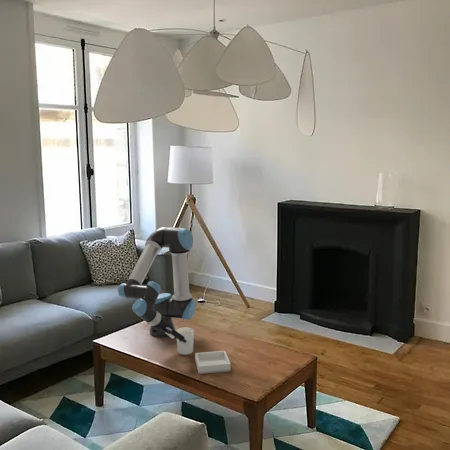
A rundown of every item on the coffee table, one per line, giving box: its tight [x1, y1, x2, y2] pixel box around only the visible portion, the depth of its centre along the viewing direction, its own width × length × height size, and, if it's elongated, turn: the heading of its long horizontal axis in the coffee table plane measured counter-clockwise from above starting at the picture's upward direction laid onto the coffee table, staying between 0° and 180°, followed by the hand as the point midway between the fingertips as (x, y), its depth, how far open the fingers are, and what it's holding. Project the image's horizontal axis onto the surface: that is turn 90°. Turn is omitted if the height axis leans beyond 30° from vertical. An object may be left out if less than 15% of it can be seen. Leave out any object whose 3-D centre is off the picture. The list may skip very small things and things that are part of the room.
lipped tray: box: [194, 350, 232, 375], centre depth 265 cm, size 16×16×4 cm
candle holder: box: [175, 326, 195, 356], centre depth 282 cm, size 10×10×12 cm
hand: (181, 340), depth 280 cm, fingers open, 13 cm apart
